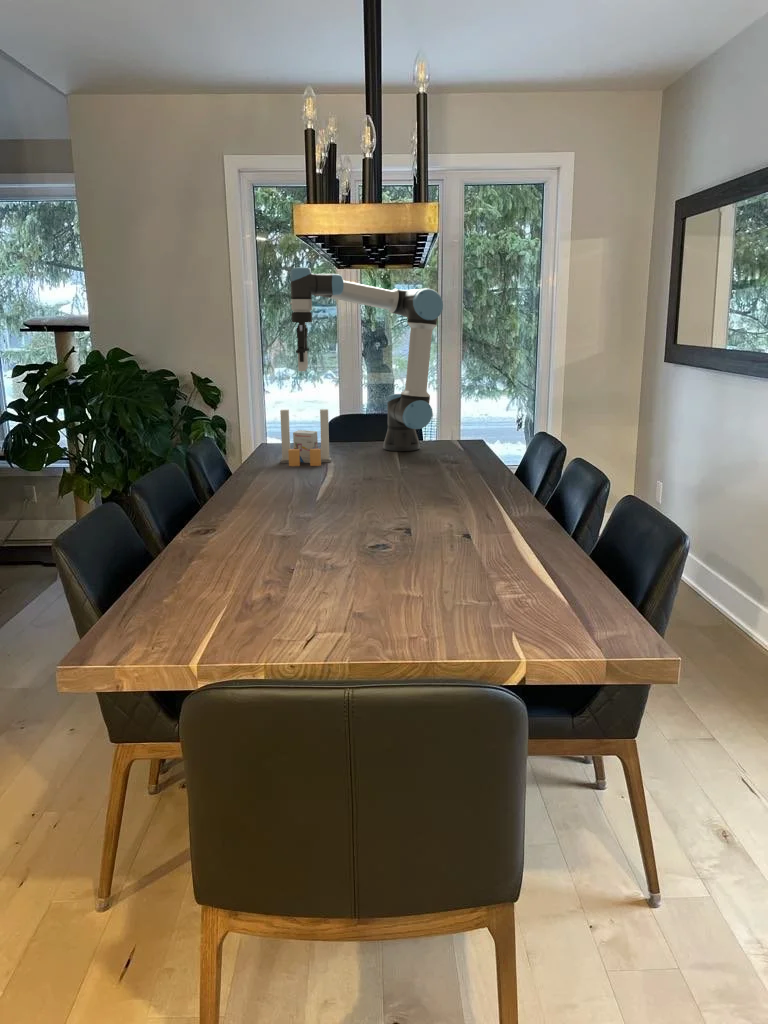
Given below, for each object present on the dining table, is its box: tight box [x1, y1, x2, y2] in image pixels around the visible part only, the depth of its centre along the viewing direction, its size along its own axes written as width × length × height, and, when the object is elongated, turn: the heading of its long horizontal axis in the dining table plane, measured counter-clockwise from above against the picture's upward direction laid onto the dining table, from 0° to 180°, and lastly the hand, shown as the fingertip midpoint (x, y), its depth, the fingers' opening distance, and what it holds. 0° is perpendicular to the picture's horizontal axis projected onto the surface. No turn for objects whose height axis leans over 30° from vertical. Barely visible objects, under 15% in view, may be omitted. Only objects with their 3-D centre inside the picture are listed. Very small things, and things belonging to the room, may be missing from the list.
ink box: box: [292, 429, 319, 464], centre depth 295 cm, size 9×5×12 cm, turn 73°
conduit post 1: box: [279, 409, 291, 464], centre depth 293 cm, size 4×4×20 cm
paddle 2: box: [309, 448, 322, 467], centre depth 289 cm, size 4×3×6 cm
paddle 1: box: [288, 448, 301, 467], centre depth 289 cm, size 4×3×6 cm
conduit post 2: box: [319, 408, 332, 463], centre depth 294 cm, size 4×4×20 cm
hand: (303, 369), depth 288 cm, fingers open, 13 cm apart
